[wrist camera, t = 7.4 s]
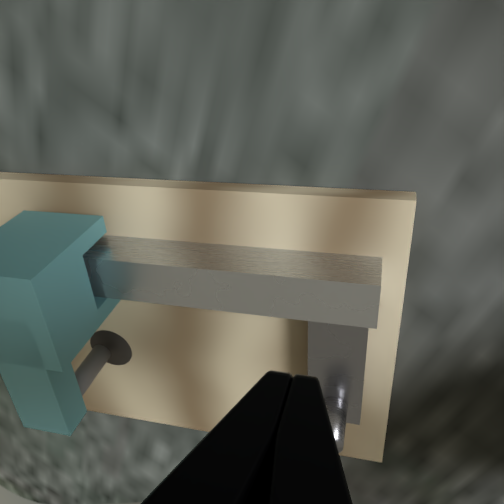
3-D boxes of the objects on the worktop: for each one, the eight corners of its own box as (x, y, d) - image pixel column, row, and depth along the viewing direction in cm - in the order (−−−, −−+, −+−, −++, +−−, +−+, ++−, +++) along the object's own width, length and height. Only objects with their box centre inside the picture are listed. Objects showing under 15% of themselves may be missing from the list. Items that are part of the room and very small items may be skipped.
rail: (382, 257, 19) (381, 285, 17) (378, 298, 20) (376, 328, 18) (15, 227, 23) (-14, 248, 21) (28, 263, 24) (0, 285, 22)
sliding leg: (102, 215, 21) (31, 279, 17) (138, 364, 25) (88, 443, 21) (24, 210, 22) (-63, 269, 18) (71, 354, 26) (10, 428, 22)
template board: (415, 192, 18) (416, 201, 17) (382, 449, 26) (381, 463, 25) (-8, 171, 23) (-21, 178, 22) (70, 396, 30) (63, 406, 30)
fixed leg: (370, 297, 20) (366, 358, 17) (361, 398, 23) (357, 465, 20) (313, 291, 21) (299, 349, 18) (312, 390, 24) (300, 455, 21)
